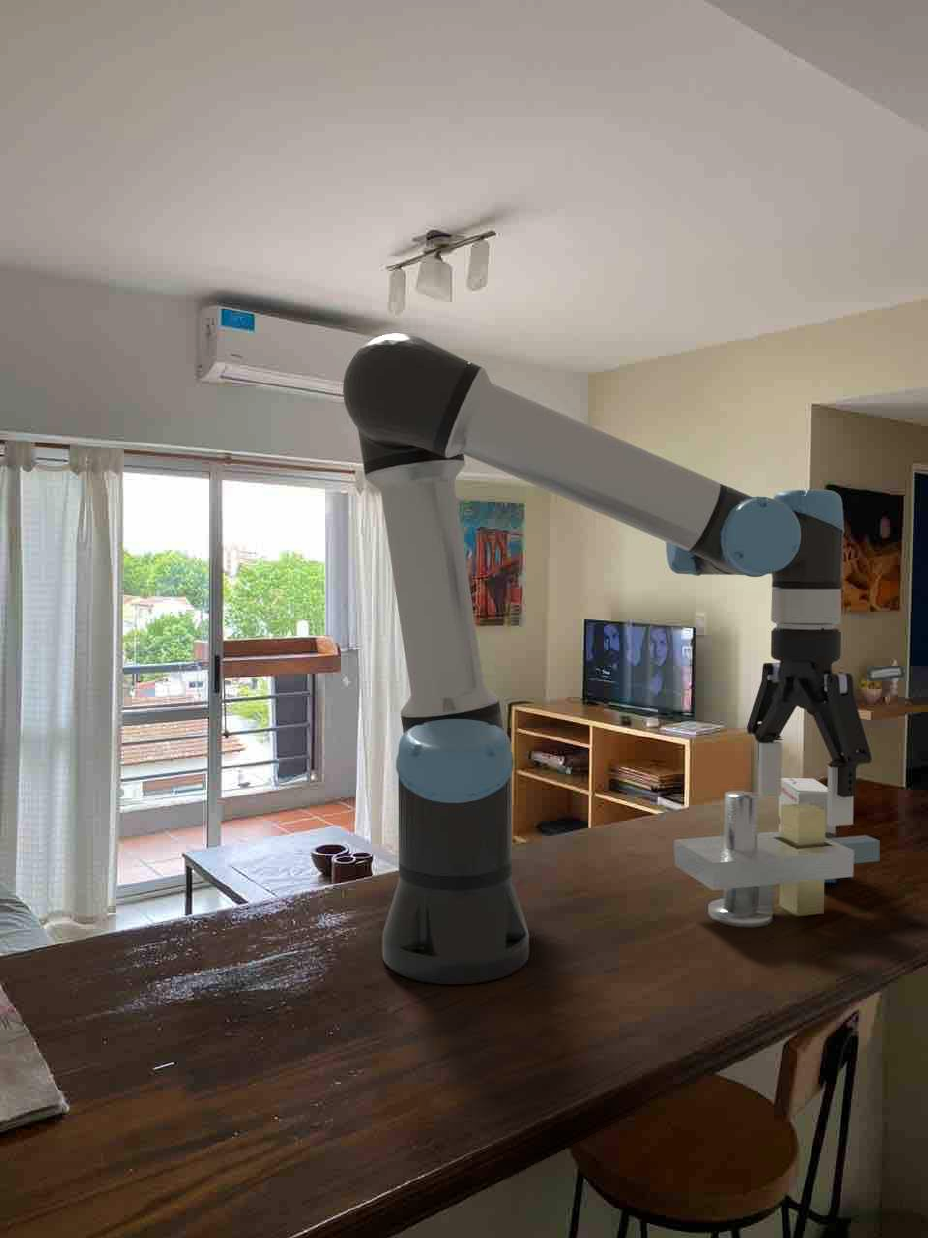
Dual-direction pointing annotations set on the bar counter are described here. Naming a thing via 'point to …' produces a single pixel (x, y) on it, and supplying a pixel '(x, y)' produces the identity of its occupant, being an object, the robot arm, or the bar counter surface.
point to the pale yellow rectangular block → (802, 831)
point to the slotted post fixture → (761, 862)
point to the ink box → (806, 800)
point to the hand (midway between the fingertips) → (802, 809)
